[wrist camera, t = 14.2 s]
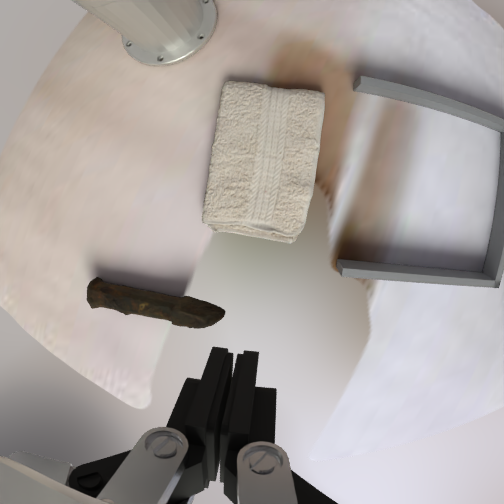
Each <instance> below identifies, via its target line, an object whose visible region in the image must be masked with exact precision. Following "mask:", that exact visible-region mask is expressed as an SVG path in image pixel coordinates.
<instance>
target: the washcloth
mask: <svg viewBox="0 0 504 504" xmlns="http://www.w3.org/2000/svg"><path fill="white" fill-rule="evenodd" d="M222 91H223V92H222V94H221V99H220V108H219V110H218V118H217V125H216V132H215V140H214V142H213V145H212V154H211V155H212V158H211V159H210V160H211V164H210V165H209V177H208V181H207V189H206V193H205V195H206V196H205V201H204V206H203V209H204V210H203V214H202V217H203V218H202V221H203V223H204V224H207V225H208V227H209V228H210V229H211V230H212V231H213V232H215V233H217V232H230V233H236V234H241V235H247V236H253V237H258V238H263V239H269V240H275V241H280V242H286V243H289V244H290V243H292V242H295V241H296V240H297V237H298V235H299V234H300V232H301V231H302V229H303V227H304V225H305V222H306V218H307V212H308V208H309V204H310V200H311V197H312V195H313V188H314V182H315V176H316V167H317V161H318V156H319V151H320V138H321V129H322V124H323V117H324V109H325V102H324V97H325V94H324V93H322V92H319V91H313V90H306V89H304V90H303V89H290V90H289V89H283V88H275V87H274V88H272V87H269V86H268V85H266V84H259V83H251V82H237V81H228V82H225V83H224V86H223V88H222Z"/></svg>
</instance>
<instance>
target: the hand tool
mask: <svg viewBox="0 0 504 504" xmlns="http://www.w3.org/2000/svg"><path fill="white" fill-rule="evenodd" d="M87 301H88V303H89V304H90V306H91V308H98V307H104V308H109V309H114V310H117V311H119V312H121V313H124V314H125V315H129V314H131V313H132V314H137V315H142V316H147V317H152V318H158V319H165V320H169V321H172V324H173V325H177V326H187V327H189V328H205V327H208V326H212V325H214V324H215V323H217V322H218V321H220V320H221V319H222V318H223V317H224V315H225V310H224V309H222V308H221V307H218V306H216V305H214V304H211V303H209V302H206V301H202V300H198V299H195V298H192V297H190V296H184V297H175V296H169V295H165V294H160V293H156V292H152V291H144V290H139V289H135V288H131V287H127V286H120V285H114V284H109V283H105V282H102V280H101V279H100V278H99V277H96V278H95V279H93V280H92V281H91V282H90V283H89V285H88V287H87Z"/></svg>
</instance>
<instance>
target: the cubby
mask: <svg viewBox="0 0 504 504" xmlns="http://www.w3.org/2000/svg"><path fill="white" fill-rule="evenodd" d="M353 91H357V92H362V93H367V94H373V95H378V96H382V97H387V98H392V99H396V100H400V101H404V102H408V103H412V104H416V105H420V106H424V107H427V108H431V109H434V110H438V111H441V112H445V113H448V114H451V115H454V116H457V117H460V118H463V119H466V120H469V121H472V122H475V123H478V124H480V125H483V126H486V127H488V128H491V129H493V130H496V131H498V132H501V152H500V168H499V180H498V190H497V198H496V206H495V213H494V219H493V225H492V231H491V236H490V241H489V246H488V251H487V255H486V260H485V264H484V268H483V272H472V271H462V270H451V269H440V268H429V267H419V266H408V265H397V264H386V263H376V262H365V261H354V260H343V259H337V265H336V267H337V269H338V271H339V273H340V275H341V276H342V277H352V278H364V279H377V280H390V281H403V282H416V283H430V284H445V285H460V286H475V287H492V288H499V285H500V282H501V278H502V274H503V271H504V119H502V118H500V117H497V116H495V115H493V114H490V113H488V112H485V111H483V110H480V109H478V108H475V107H472V106H470V105H467V104H464V103H461V102H459V101H456V100H453V99H450V98H447V97H444V96H440V95H437V94H434V93H431V92H427V91H424V90H420V89H417V88H413V87H409V86H405V85H401V84H397V83H393V82H389V81H385V80H380V79H375V78H370V77H365V76H360V77H359V78H358V79H357V80H356V81H355V82H354V90H353Z"/></svg>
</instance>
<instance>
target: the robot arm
mask: <svg viewBox="0 0 504 504" xmlns="http://www.w3.org/2000/svg"><path fill="white" fill-rule="evenodd" d="M72 1H73V2H75V3H76V4H78V5H79V6H81V7H82V8H84V9H85V10H87V11H88V12H90V13H91V14H93V15H94V16H96V17H97V18H99V19H100V20H102V21H103V22H104V23H106V24H107V25H109V26H110V27H112V28H113V29H114V30H116V31H117V32H119V33H120V34H121V35H122V42H123V45H124V48H125V50H126V51H127V53H128V54H129V55H130V56H131V57H132V58H134V59H135V60H137V61H138V62H140V63H143V64H146V65H150V66H166V65H171V64H175V63H178V62H180V61H183V60H185V59H187V58H189V57H190V56H192V55H193V54H195V53H196V52H197V51H199V50H200V49H201V48H202V47H203V46H204V45H205V44H206V43H207V41H208V40H209V39H210V37H211V36H212V34H213V32H214V30H215V27H216V23H217V10H216V6H215V4H214V2H213V0H72ZM202 37H203V39H201V38H202ZM162 59H163V60H162ZM161 60H162V61H161ZM258 356H259V352H254V351H244V353H243V354H238V355H237V359H236V363H235V368H234V373H233V377H232V371H233V353H229V352H228V349H227V348H220V347H212V350H211V353H210V356H209V358H208V361H207V364H206V367H205V369H204V372H203V375H202V378H201V380H200V379H193V378H187V379H186V381H185V383H184V385H183V387H182V390H181V392H180V395H179V397H178V399H177V402H176V404H175V407H174V409H173V411H172V414H171V416H170V419H169V421H168V423H167V426H166V427H158V428H153V429H151V430H149V431H147V432H146V433H145V434H144V435H143V436H142V437H141V438H140V439H139V441H138V442H137V444H136V445H135V446H134V448H133V449H132V450H129V451H127V452H123V453H120V454H117V455H114V456H110V457H107V458H104V459H101V460H97V461H93V462H90V463H86V464H83V465H80V466H78V467H74V466H72V464H71V463H67V462H63V461H58V460H54V459H50V458H46V457H42V456H39V455H35V454H32V453H28V452H23V451H18V452H14V453H13V454H11V455H10V456H9V458H6V457H3V456H0V504H192V502H193V500H194V496H195V494H197V493H199V492H201V491H203V490H204V488H208V486H209V481H216V476H217V472H218V467H219V463H220V482H223V483H224V494H225V495H226V496H227V497H228V498H229V499H230V500H231V501H232V502H233V503H234V504H338V503H336V502H335V501H333V500H332V499H330V498H329V497H327V496H326V495H325V494H323V493H322V492H320V491H319V490H317V489H316V488H315V487H313V486H312V485H311V484H309V483H308V482H307V481H305V480H304V479H303V478H301V477H300V476H299V475H297V474H296V473H295V472H293V471H292V470H291V468H290V463H289V458H288V456H287V453H286V452H285V451H284V450H283V449H282V448H281V447H279V446H278V445H276V444H275V420H276V388H265V387H255V384H256V375H257V365H258Z"/></svg>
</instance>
